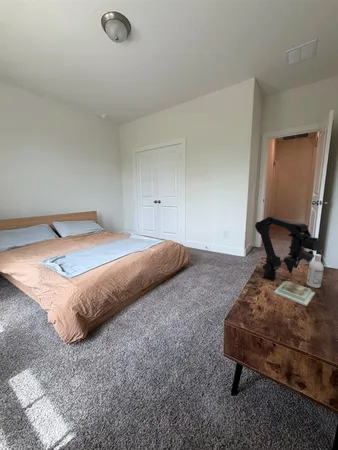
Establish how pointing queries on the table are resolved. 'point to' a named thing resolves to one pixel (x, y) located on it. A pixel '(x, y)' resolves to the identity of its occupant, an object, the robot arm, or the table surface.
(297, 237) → the robot arm
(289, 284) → the peg
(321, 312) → the table surface
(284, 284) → the socket board
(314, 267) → the bath foam
